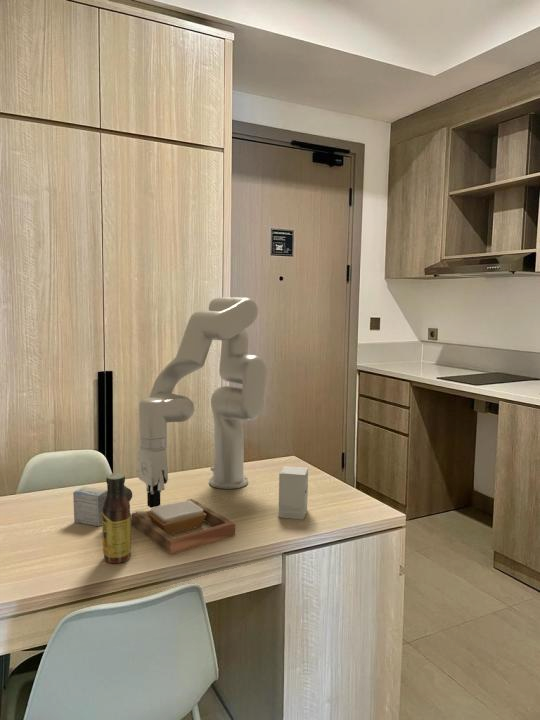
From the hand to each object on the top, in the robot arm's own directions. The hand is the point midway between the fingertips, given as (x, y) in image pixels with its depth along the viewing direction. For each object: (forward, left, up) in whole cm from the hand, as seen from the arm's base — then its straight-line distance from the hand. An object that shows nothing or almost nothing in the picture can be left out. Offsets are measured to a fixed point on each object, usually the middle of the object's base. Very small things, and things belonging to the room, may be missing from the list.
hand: (153, 505), depth 156 cm
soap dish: (+13, 0, -2) cm, 13 cm away
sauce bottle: (+21, -20, -2) cm, 29 cm away
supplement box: (+25, +30, -2) cm, 39 cm away
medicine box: (-3, -17, -2) cm, 17 cm away
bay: (+15, -2, -1) cm, 15 cm away
